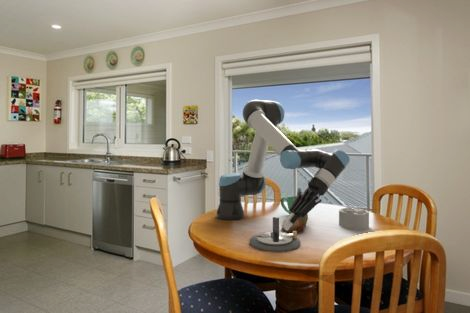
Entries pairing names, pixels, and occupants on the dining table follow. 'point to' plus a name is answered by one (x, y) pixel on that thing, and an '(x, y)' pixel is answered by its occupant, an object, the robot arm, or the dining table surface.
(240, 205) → the robot arm
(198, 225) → the dining table surface
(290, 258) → the dining table surface
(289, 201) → the mug
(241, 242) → the dining table surface
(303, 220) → the squeeze bottle
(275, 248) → the base pad
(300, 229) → the bread roll
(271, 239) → the flange plate
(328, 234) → the dining table surface
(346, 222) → the lumpy-topped squat cylinder
